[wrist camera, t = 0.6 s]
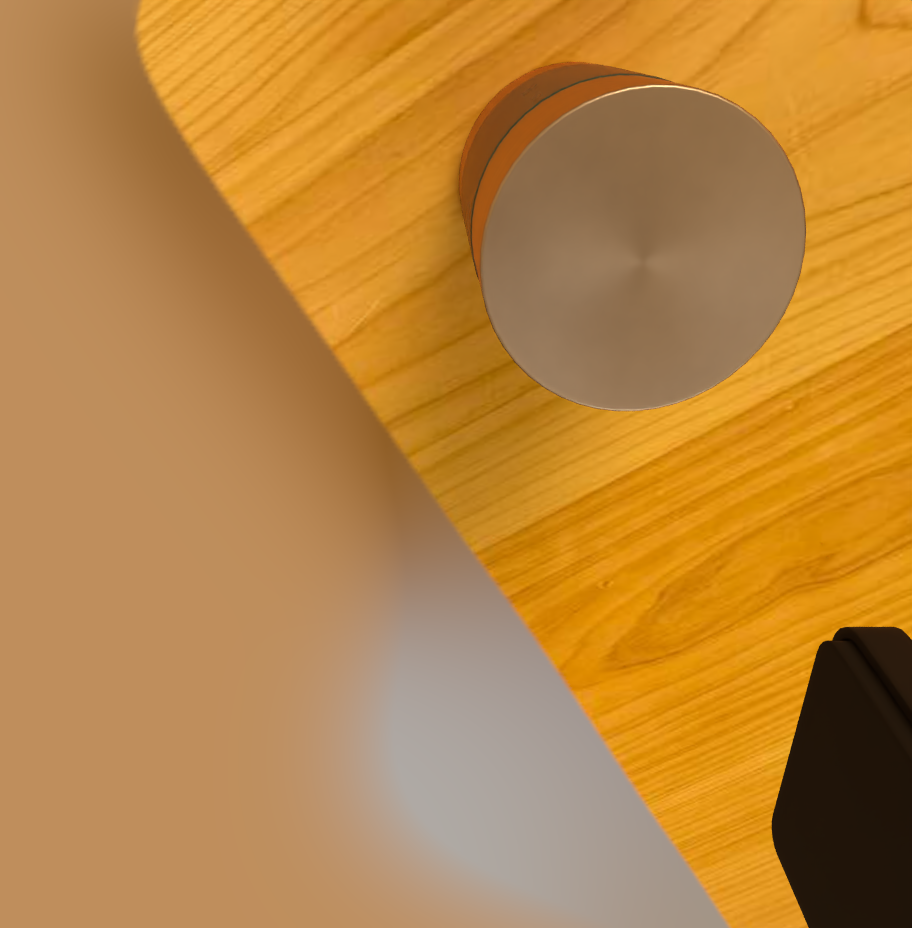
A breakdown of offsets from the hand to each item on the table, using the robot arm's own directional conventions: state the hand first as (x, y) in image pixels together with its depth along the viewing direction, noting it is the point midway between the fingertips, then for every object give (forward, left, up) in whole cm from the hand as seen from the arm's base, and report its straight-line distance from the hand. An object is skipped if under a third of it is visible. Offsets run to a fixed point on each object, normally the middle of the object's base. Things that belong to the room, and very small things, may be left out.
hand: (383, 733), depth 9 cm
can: (-4, +4, -20) cm, 21 cm away
